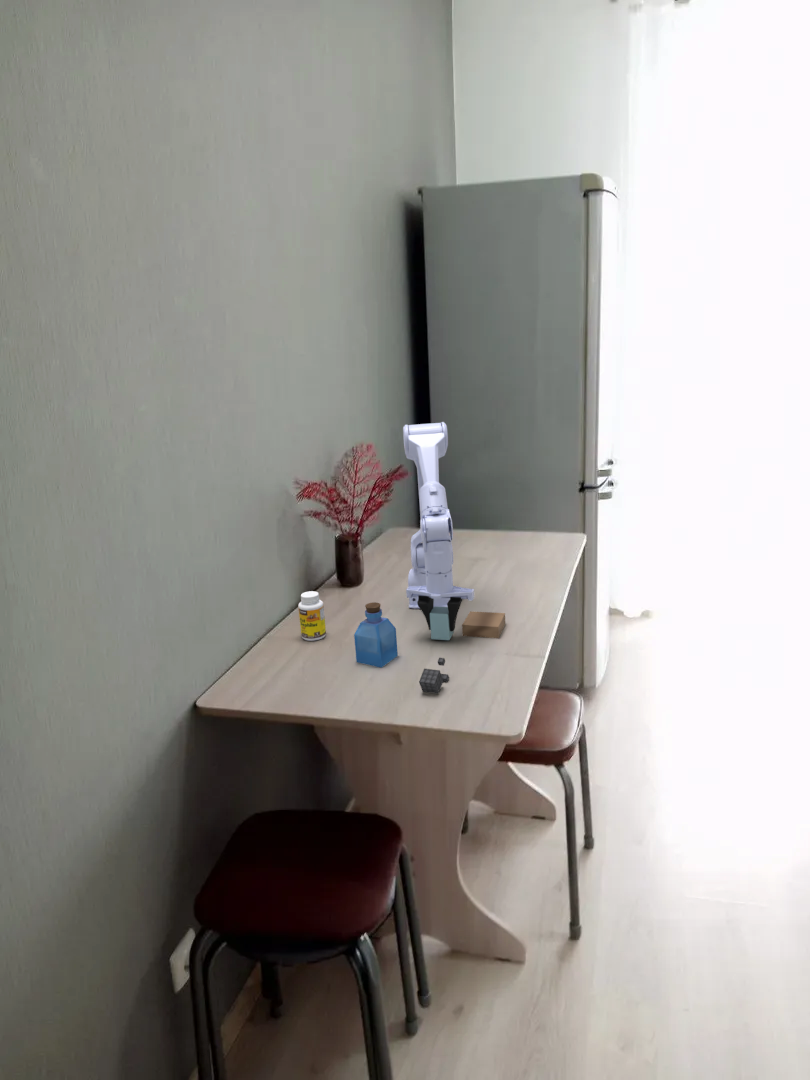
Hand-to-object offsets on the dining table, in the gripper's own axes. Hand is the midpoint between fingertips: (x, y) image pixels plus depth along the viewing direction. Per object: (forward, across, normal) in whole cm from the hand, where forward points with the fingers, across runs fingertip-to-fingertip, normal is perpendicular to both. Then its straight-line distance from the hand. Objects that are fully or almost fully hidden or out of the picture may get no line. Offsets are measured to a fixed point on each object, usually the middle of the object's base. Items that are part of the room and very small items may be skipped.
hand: (442, 629), depth 177 cm
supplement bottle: (+2, -29, -3) cm, 29 cm away
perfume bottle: (+2, -11, -12) cm, 16 cm away
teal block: (+2, 0, 0) cm, 2 cm away
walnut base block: (+3, +8, +6) cm, 10 cm away
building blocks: (+2, +4, -22) cm, 22 cm away
